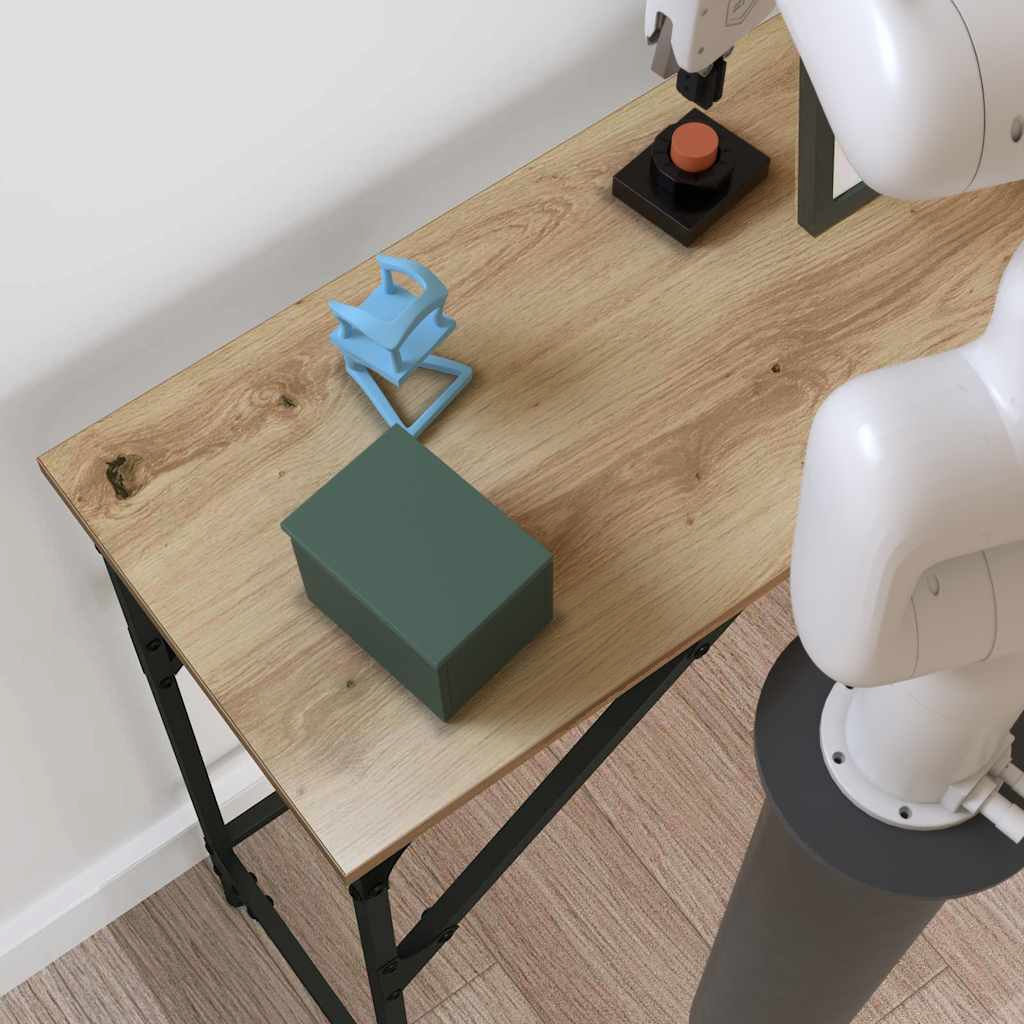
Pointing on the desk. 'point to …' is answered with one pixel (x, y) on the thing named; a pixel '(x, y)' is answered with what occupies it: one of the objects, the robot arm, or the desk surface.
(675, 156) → the button
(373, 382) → the chair
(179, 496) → the desk surface
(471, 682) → the green box
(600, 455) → the desk surface
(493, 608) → the box lid
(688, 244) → the push button base
